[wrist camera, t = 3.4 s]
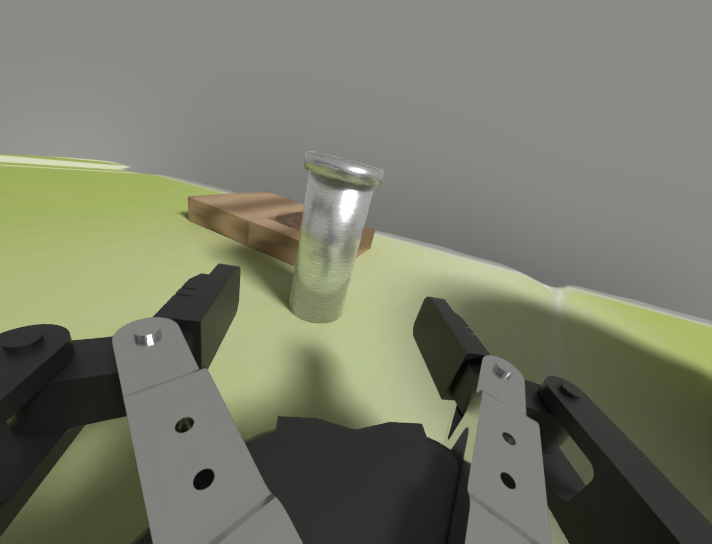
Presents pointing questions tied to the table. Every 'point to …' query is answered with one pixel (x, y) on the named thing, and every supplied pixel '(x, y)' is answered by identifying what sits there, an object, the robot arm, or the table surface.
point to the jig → (258, 221)
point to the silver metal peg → (330, 234)
